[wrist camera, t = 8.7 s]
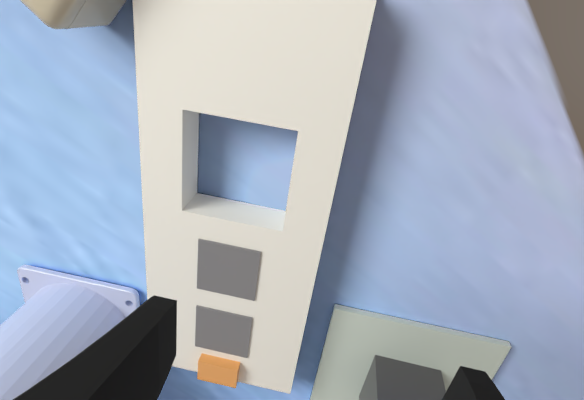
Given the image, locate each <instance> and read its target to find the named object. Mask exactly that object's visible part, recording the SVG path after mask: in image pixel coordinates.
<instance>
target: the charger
mask: <svg viewBox="0 0 584 400" xmlns="http://www.w3.org/2000/svg"><path fill="white" fill-rule="evenodd" d="M445 393H446V390H445V385H444V381H443V376H442V372H441V370H437V369H433V368H429V367H425V366H420V365H416V364H412V363H408V362H404V361H399V360H395V359H391V358H387V357H383V356H379V355H375V356H374V359H373V361H372V364H371V367H370V369H369V372H368V374H367V377H366V379H365V382H364V384H363V387H362V389H361V392H360V395H359V400H442V398H443V397H444V395H445Z"/></svg>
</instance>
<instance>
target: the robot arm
mask: <svg viewBox="0 0 584 400" xmlns="http://www.w3.org/2000/svg"><path fill="white" fill-rule="evenodd" d="M17 273H18V277H19V281H20V285H21V289H22V293H23V297H24V301H25V304H23V305H22V306H21V307H20V308H19V309H18V310H17V311H16V312H14V313H13V314H12V315H11V316H10V317H9V318H8V319H7V320H6V321H4V322H3V323H2V324H1V325H0V400H157V398H158V396H159V395H160V392H161V390H162V388H163V385H164V383H165V381H166V379H167V376H168V374H169V371H170V369H171V367H172V364H173V362H174V359H175V357H176V337H177V300H173V299H168V298H164V297H160V296H155V295H154V296H152V297H150V298H149V299H148V300H147V301H145V302H144V303H143V304H142V305H141V306H140V301H139V293H138V292H137V291H136V290H135V289H133V288H129V287H125V286H120V285H116V284H111V283H107V282H102V281H98V280H93V279H89V278H84V277H80V276H75V275H71V274H66V273H62V272H57V271H53V270H48V269H44V268H39V267H35V266H30V265H22V266H21V267H20V268H18V270H17ZM442 400H505V399H504V397H503V396H502V395H501V393H500V392H499V390H498V389H497V387H496V386H495V384H494V383H493V381H492V380H491V379H490V377H489V376H488V374H487V373H486V372H485V371H481V370H476V369H472V368H468V367H463V366H460V367H459V369H458V371H457V373H456V374H455V376H454V378H453V380H452V382H451V384H450V385H449V387H448V389H447V391H446V393H445V395H444V397H443V398H442Z"/></svg>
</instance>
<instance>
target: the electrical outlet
mask: <svg viewBox="0 0 584 400" xmlns="http://www.w3.org/2000/svg"><path fill="white" fill-rule="evenodd" d="M20 1H21V2H22V3H23V4H24V5H25V6H26V7H27V8H28V9H29V10H31V11H32V12H33V13H34V14H35V15H36V16H37V17H38V18H39V19H40V20H41V21H42V22H43V23H44V24H45V25H47V26H48V27H51V28H53V29H71V28H83V27H95V26H107V25H109V24H111V22H112V21H113V19H114V18H115V16H116V15H117V14H118V12H119V11H120V9H121V8H122V6H123V5H124V3H125V2H126V0H20Z"/></svg>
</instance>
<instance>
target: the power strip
mask: <svg viewBox="0 0 584 400" xmlns="http://www.w3.org/2000/svg"><path fill="white" fill-rule="evenodd" d="M376 1H377V0H133V20H134V40H135V61H136V81H137V101H138V121H139V141H140V161H141V181H142V201H143V221H144V241H145V261H146V281H147V300H148V299H149V298H150V297H152V296H154V295H155V296H160V297H164V298H168V299H173V300H177V337H176V357H175V359H174V362H173V364H172V366H174V367H178V368H182V369H186V370H191V371H195V372H198V377H197V379H199V380H203V381H208V382H212V383H216V384H220V385H225V386H229V387H233V388H236V385H237V382H242V383H246V384H250V385H255V386H259V387H263V388H268V389H272V390H276V391H280V392H285V393H289V394H290V392H291V388H292V383H293V378H294V374H295V369H296V365H297V360H298V356H299V351H300V347H301V342H302V338H303V333H304V328H305V324H306V319H307V315H308V310H309V306H310V301H311V297H312V292H313V287H314V283H315V278H316V274H317V269H318V265H319V260H320V256H321V251H322V246H323V242H324V237H325V233H326V228H327V224H328V219H329V215H330V210H331V206H332V201H333V196H334V192H335V187H336V183H337V178H338V174H339V169H340V165H341V160H342V155H343V151H344V146H345V142H346V137H347V133H348V128H349V124H350V119H351V114H352V110H353V105H354V101H355V96H356V92H357V87H358V83H359V78H360V73H361V69H362V64H363V60H364V55H365V51H366V46H367V42H368V37H369V33H370V28H371V23H372V19H373V14H374V10H375V5H376ZM199 113H204V114H209V115H215V116H220V117H225V118H231V119H236V120H241V121H247V122H252V123H258V124H263V125H268V126H274V127H279V128H284V129H290V130H295V131H298V136H297V142H296V149H295V155H294V161H293V168H292V174H291V181H290V187H289V193H288V200H287V206H286V211H284V210H279V209H274V208H269V207H264V206H259V205H254V204H250V203H245V202H240V201H235V200H230V199H225V198H220V197H215V196H210V195H205V194H200V193H197V178H198V142H199Z"/></svg>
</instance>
